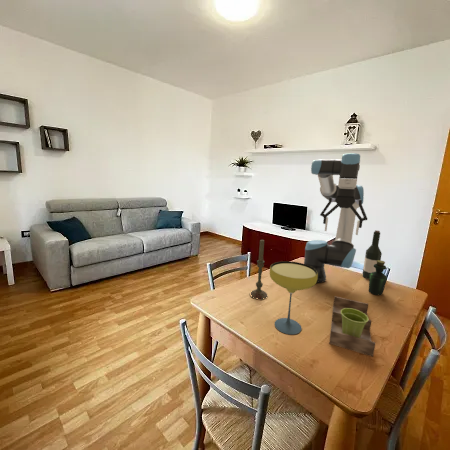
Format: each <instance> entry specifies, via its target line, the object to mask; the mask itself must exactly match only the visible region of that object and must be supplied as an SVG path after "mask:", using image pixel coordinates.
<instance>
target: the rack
mask: <svg viewBox="0 0 450 450" xmlns="http://www.w3.org/2000/svg"><path fill="white" fill-rule="evenodd" d="M344 308H352V309H356V310H359V311H361V312H363V313H364V314H366V315H367V316H368V309H369V303H366V302H362V301H358V300H353V299H349V298H346V297H345V298H344V297H340V296H336V295H334V297H333V305H332V312H331V313H332V315H331V325H330V334H329V344H331V345H333V346H336V347H340V348H343V349H346V350H348V351H352V352H355V353H359V354H363V355H365V356H369V357H374V353H375V347H376V342H375V341H372V334H371V325H372V320H371V319H369V320H368V322H366V324H365V325H364V328H363V331H362V333H361V336H360V338H358V337H355V336H351V335H348V334H344V333H342V314H341V310H342V309H344Z"/></svg>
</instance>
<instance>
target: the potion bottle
mask: <svg viewBox="0 0 450 450" xmlns="http://www.w3.org/2000/svg"><path fill="white" fill-rule="evenodd" d="M385 264H386V261H384V260H382V259H381V260H377V264H374V267H375V268H376V272H372V273H370V277H369V279H368V280H369V281H368V292H369V293H370V294H372V295H375V296H382V295H383V294H384V290H385V288H386V284H387V280H388V277H387V275H386V274H384V270H387V267H386V265H385Z"/></svg>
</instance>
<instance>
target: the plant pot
mask: <svg viewBox="0 0 450 450" xmlns="http://www.w3.org/2000/svg"><path fill="white" fill-rule="evenodd" d="M341 314H342V333H344V334H348V335H351V336H355V337H358V338H360V336H361V333H362V331H363V328H364V325H365V324H366V322H368V320H370V319H369V315H368V314H367V315H366V314H364V313H363V312H361V311H359V310H356V309H352V308H344V309H342V310H341Z"/></svg>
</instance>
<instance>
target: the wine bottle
mask: <svg viewBox="0 0 450 450" xmlns="http://www.w3.org/2000/svg"><path fill="white" fill-rule="evenodd" d="M380 237H381V232H380V230H374V231H373V235H372V240H371V241H372V242H371V245H370V246H368V248H367V249H366V250H365V254H364V255H365V257H364V262H363V267H362V268H363V269H362V274H363V276H362V277H363V278H365V279H367V280H369V277H370V273H372V272H376V268H375V267H374V264H377V260H381V261H382V255H383V253H382V251H381V249H380V247H379V244H380V239H381V238H380Z"/></svg>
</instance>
